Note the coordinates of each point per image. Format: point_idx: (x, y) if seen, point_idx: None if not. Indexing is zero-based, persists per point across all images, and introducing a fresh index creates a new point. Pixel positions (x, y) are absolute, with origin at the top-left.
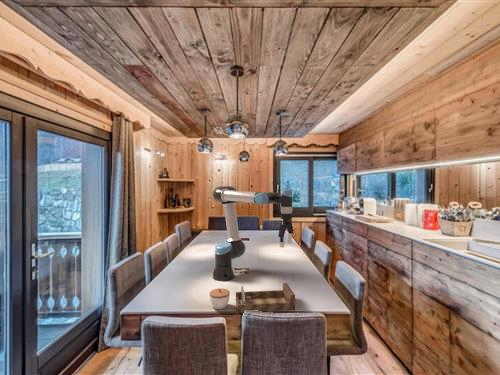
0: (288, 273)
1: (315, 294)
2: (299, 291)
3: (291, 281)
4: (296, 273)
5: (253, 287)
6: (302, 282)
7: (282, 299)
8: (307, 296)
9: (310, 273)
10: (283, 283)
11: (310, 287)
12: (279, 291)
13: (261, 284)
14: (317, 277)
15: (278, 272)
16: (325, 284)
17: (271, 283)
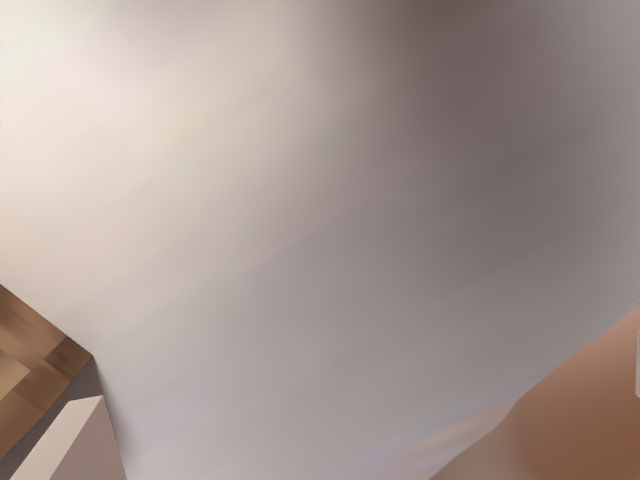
0: (537, 106)
1: (264, 469)
2: (237, 372)
3: (377, 228)
4: (573, 165)
5: (36, 37)
6: (409, 305)
7: (8, 370)
8: (199, 449)
9: (631, 257)
10: (8, 398)
11: (355, 392)
12: (5, 349)
13: (147, 55)
14: (572, 339)
15: (512, 10)
16: (469, 440)
17: (229, 117)
